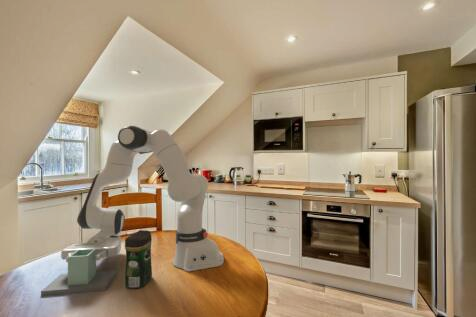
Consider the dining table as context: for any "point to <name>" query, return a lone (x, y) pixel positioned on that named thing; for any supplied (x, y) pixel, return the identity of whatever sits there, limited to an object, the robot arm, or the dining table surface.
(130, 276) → the coffee jar
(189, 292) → the dining table surface
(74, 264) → the mint green pencil cup
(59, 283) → the stub board
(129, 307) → the dining table surface
